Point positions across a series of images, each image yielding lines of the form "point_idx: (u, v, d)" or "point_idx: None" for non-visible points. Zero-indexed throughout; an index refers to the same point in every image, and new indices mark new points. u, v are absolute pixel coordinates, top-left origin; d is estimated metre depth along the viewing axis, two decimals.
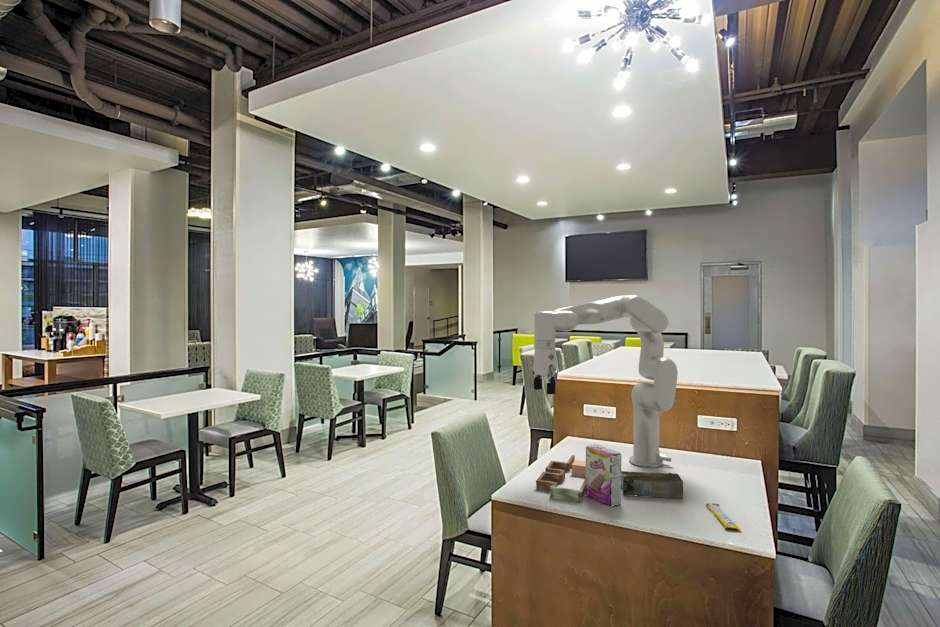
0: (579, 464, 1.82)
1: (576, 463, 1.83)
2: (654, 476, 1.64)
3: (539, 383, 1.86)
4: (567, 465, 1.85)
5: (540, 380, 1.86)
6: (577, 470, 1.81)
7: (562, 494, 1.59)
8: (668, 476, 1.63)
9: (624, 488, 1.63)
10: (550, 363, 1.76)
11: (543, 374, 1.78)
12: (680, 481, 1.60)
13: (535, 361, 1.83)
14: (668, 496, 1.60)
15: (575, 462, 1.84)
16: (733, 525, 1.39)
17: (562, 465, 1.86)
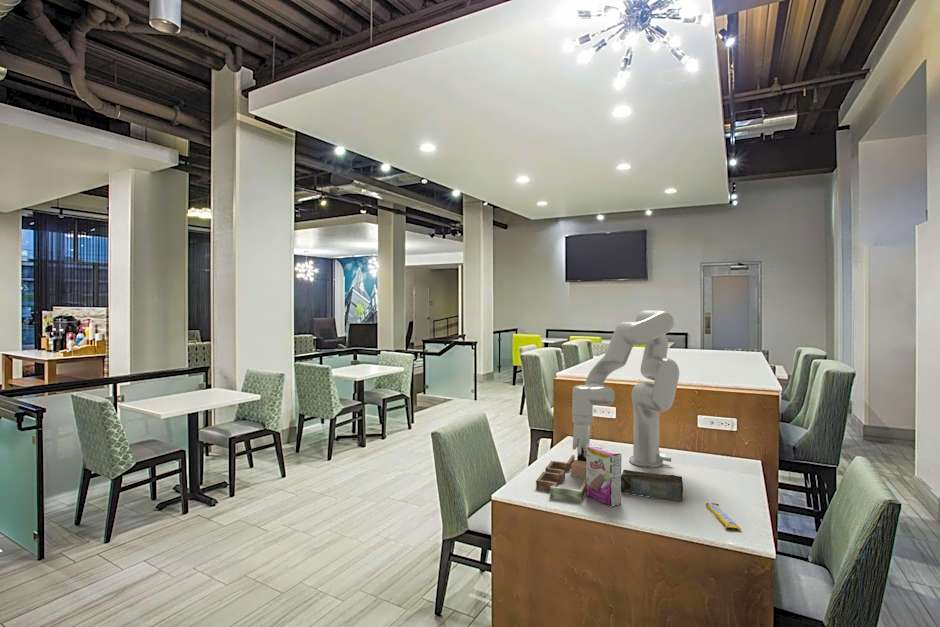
0: (579, 464, 1.81)
1: (576, 463, 1.83)
2: (654, 476, 1.63)
3: None
4: (567, 465, 1.85)
5: None
6: (576, 470, 1.80)
7: (562, 494, 1.59)
8: (668, 478, 1.62)
9: (622, 486, 1.65)
10: None
11: (588, 444, 1.90)
12: (679, 483, 1.58)
13: (587, 437, 1.84)
14: (666, 497, 1.59)
15: (575, 462, 1.84)
16: (734, 525, 1.40)
17: (562, 465, 1.86)
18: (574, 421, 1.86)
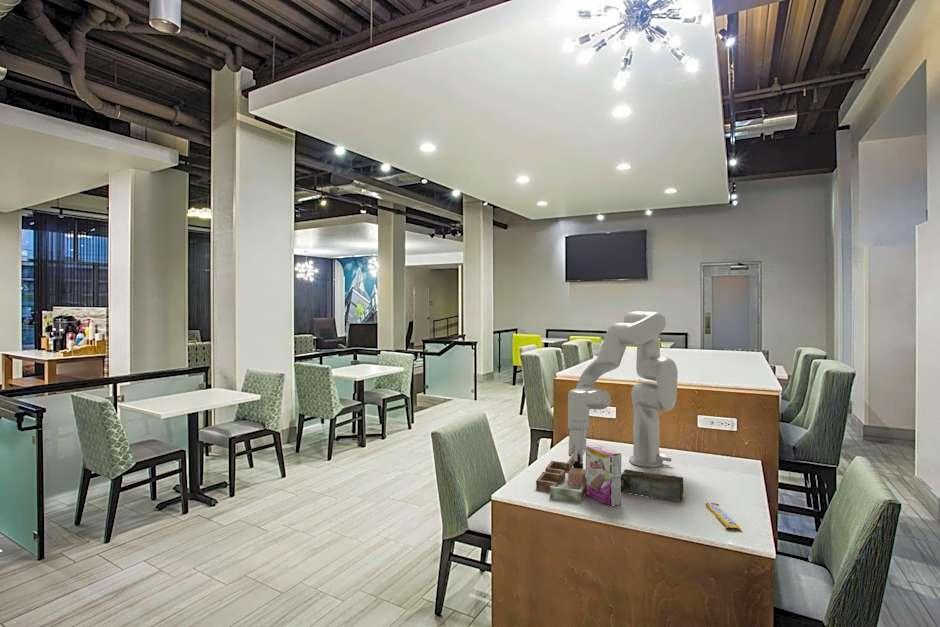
0: (576, 472, 1.74)
1: (573, 471, 1.75)
2: (654, 477, 1.63)
3: None
4: (567, 465, 1.85)
5: None
6: (574, 478, 1.72)
7: (562, 494, 1.59)
8: (668, 478, 1.61)
9: (621, 485, 1.65)
10: None
11: (585, 450, 1.82)
12: (678, 484, 1.57)
13: (583, 443, 1.77)
14: (665, 498, 1.59)
15: (572, 470, 1.76)
16: (734, 525, 1.40)
17: (562, 465, 1.86)
18: (570, 426, 1.78)
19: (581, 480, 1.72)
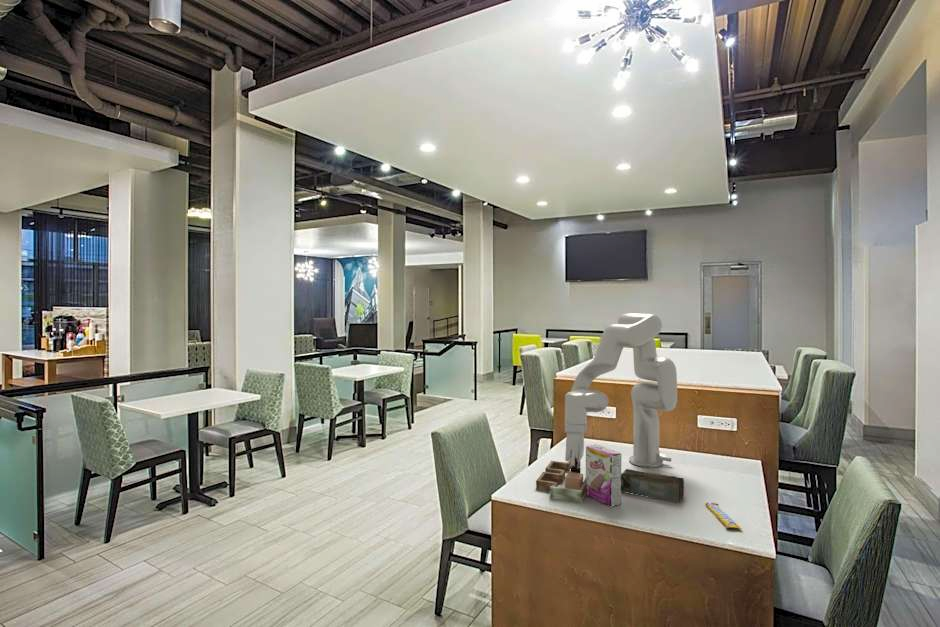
0: (573, 477, 1.68)
1: (570, 475, 1.70)
2: (654, 477, 1.63)
3: None
4: (567, 465, 1.85)
5: None
6: (571, 483, 1.67)
7: (562, 494, 1.59)
8: (668, 478, 1.61)
9: (621, 484, 1.66)
10: None
11: (582, 454, 1.77)
12: (677, 484, 1.57)
13: (581, 447, 1.71)
14: (664, 498, 1.59)
15: (569, 474, 1.71)
16: (734, 525, 1.40)
17: (562, 465, 1.86)
18: (567, 430, 1.73)
19: (578, 485, 1.66)
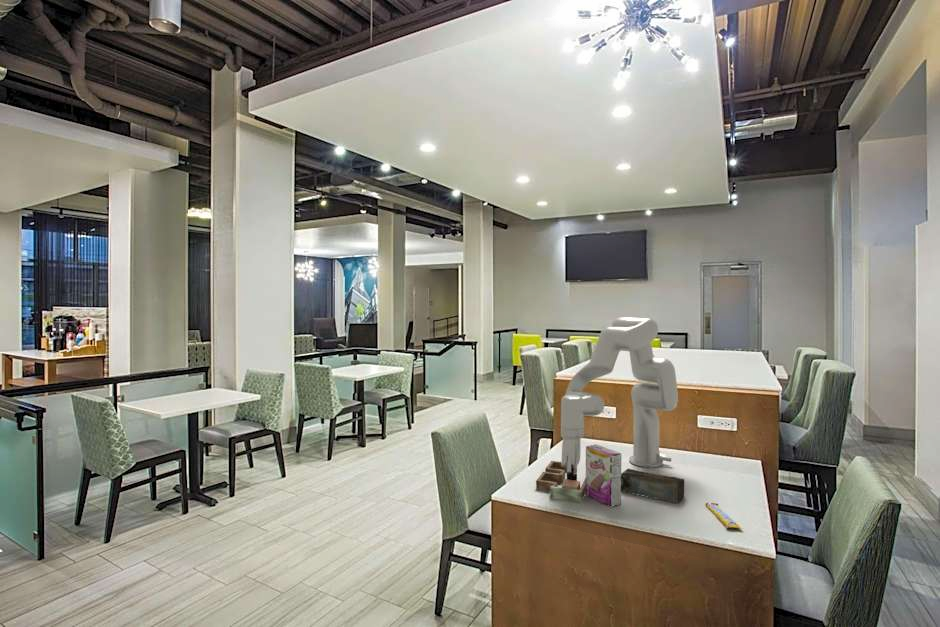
0: (570, 484, 1.62)
1: (567, 483, 1.63)
2: (654, 477, 1.63)
3: None
4: None
5: None
6: None
7: (562, 494, 1.59)
8: (668, 479, 1.60)
9: (621, 484, 1.66)
10: None
11: (579, 460, 1.71)
12: (676, 485, 1.56)
13: (577, 453, 1.65)
14: (663, 498, 1.58)
15: (565, 482, 1.64)
16: (734, 524, 1.40)
17: None
18: (563, 435, 1.67)
19: None
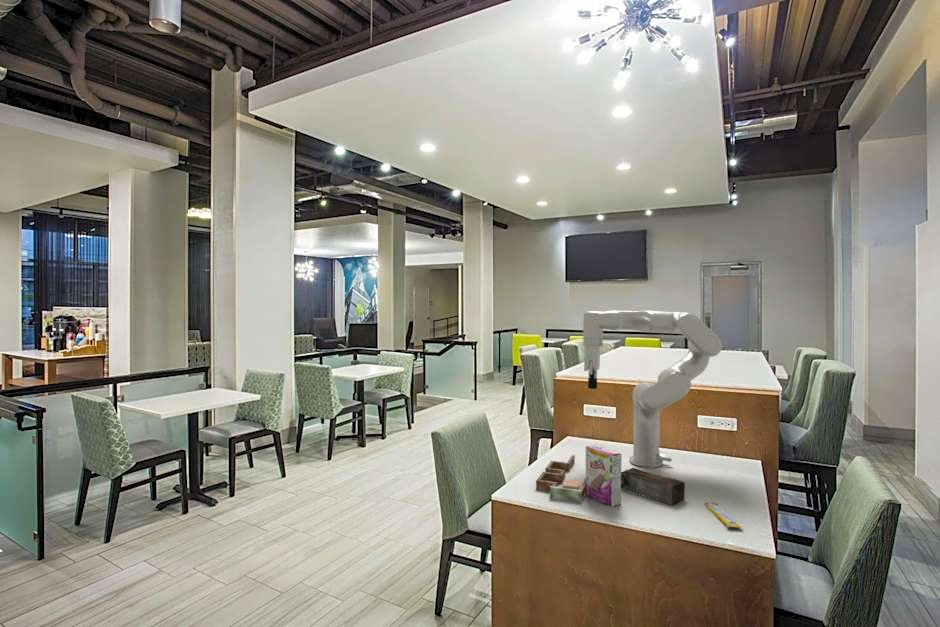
0: (570, 484, 1.62)
1: (567, 483, 1.63)
2: (653, 477, 1.62)
3: None
4: (567, 465, 1.85)
5: None
6: None
7: (562, 494, 1.59)
8: (665, 480, 1.59)
9: (621, 482, 1.68)
10: None
11: None
12: (670, 487, 1.55)
13: (597, 359, 1.93)
14: (659, 499, 1.58)
15: (565, 482, 1.64)
16: (735, 524, 1.40)
17: (562, 465, 1.86)
18: (585, 344, 1.95)
19: None
